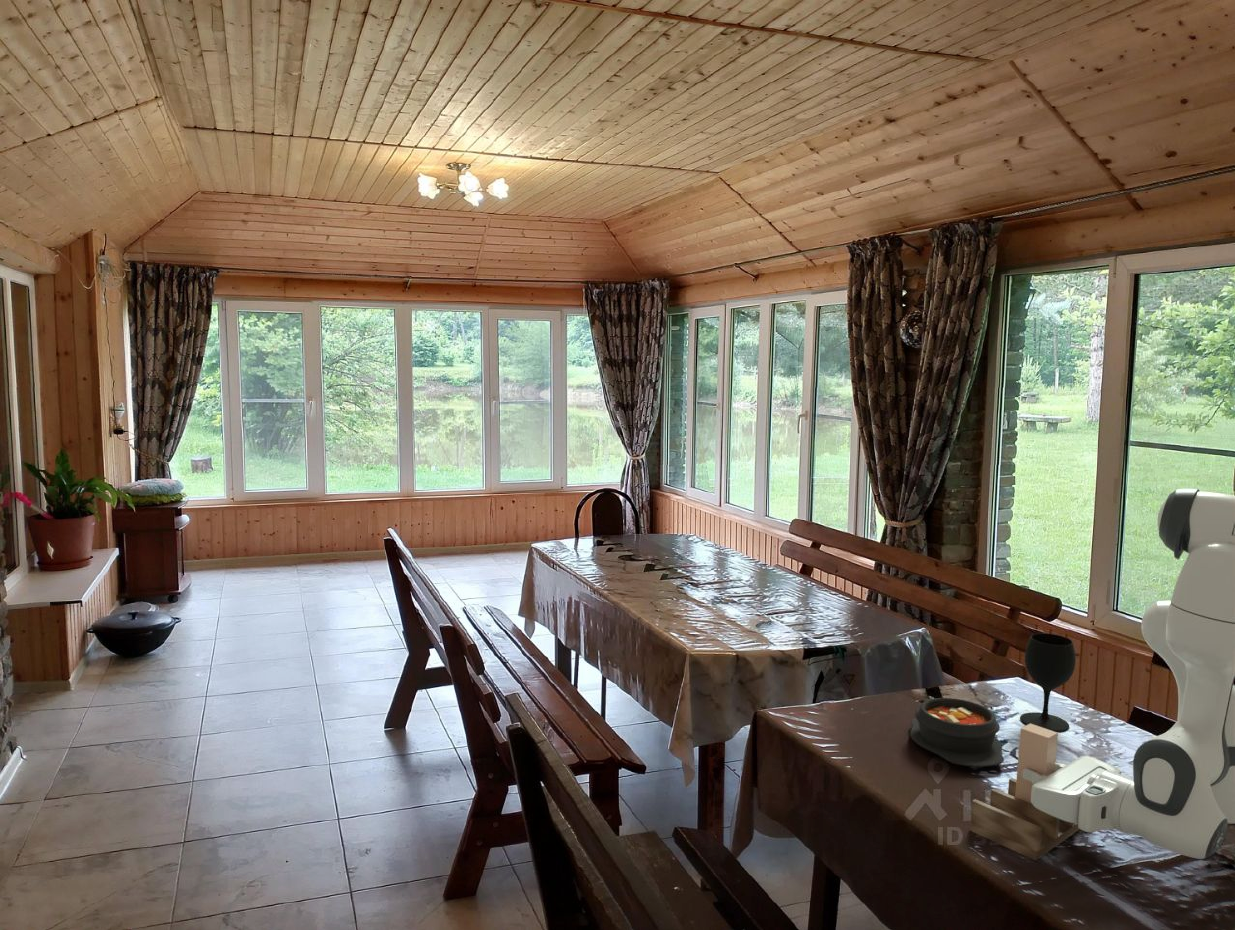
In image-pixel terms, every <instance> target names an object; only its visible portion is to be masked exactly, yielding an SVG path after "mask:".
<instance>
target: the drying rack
mask: <svg viewBox="0 0 1235 930" xmlns="http://www.w3.org/2000/svg"><path fill="white" fill-rule="evenodd" d="M1016 780H1017V778H1013V777H1011V778H1009V780H1008V789H1007V792H1004V791H1001V790H999V789H996V788H992V789H991V790H990V798H989V799H990V800H989V801H990V802H989V804H988V803H985V802H984V801H980V800H978V799H977V798H974V799H972V801H971V811H970V813H971V814H970V821H969V831H970V832H972V833H975V834H977V835H979V836H982V837H983V838H985V839H988V840H989V841H992V842H994V843H996V844H997V845H998V844H999V845H1000V846H1003V847H1005V848H1007V849H1009V850H1011V851H1014V852H1016V853H1018V854H1020V855H1022V856H1024V857H1027V858H1029V859H1032V860H1033V861H1037V860H1038V859H1040V858H1041V857H1043V856H1044V855H1045V854H1047V853H1048V852H1049V851H1052V850H1053V849H1054V848H1055V847H1057V846H1058V845H1060V844H1061V843H1063V842H1064V841H1066V839H1068V838H1070V837H1071V836H1073V834H1076V832H1078V831H1079V830H1080V829H1079V828H1078V823H1070V822H1066V821H1063V820H1061V819H1058V818H1056V817H1053V816H1051V815H1049V814H1047V813H1044V812H1042V811H1040V810H1038V809H1037V808H1035V807H1034V806H1033V805H1032V804H1031V803H1029V802H1026V801H1024V800H1021V799H1019V798H1016V797H1015V792H1016Z"/></svg>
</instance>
